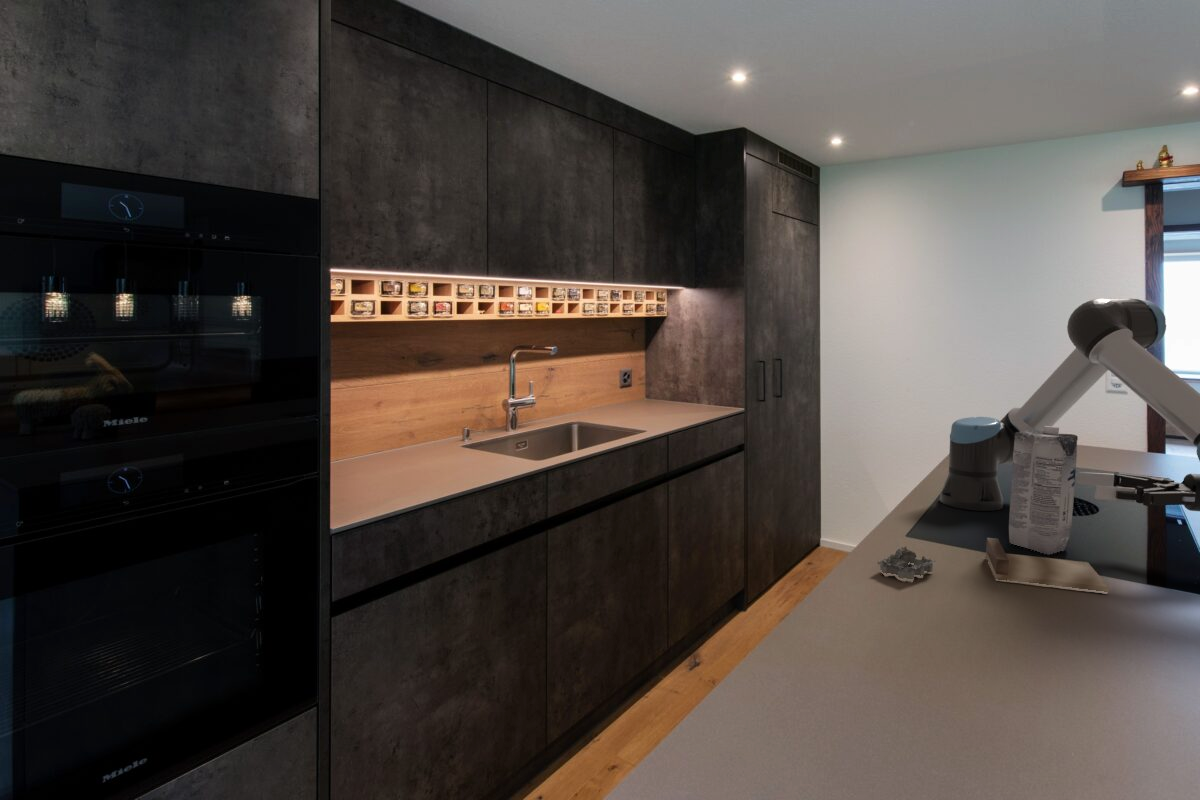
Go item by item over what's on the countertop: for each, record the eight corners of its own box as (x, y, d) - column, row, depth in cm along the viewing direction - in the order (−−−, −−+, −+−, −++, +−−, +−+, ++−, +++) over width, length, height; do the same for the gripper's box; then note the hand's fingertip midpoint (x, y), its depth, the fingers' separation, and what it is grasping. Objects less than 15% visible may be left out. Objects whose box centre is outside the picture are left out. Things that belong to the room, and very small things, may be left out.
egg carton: (905, 564, 143) (906, 545, 143) (939, 575, 137) (940, 555, 136) (872, 574, 137) (873, 554, 137) (907, 586, 131) (908, 565, 131)
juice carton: (1050, 558, 145) (1059, 432, 142) (1002, 544, 154) (1009, 425, 151) (1074, 551, 149) (1084, 428, 146) (1025, 538, 158) (1033, 422, 155)
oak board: (995, 581, 133) (996, 573, 132) (985, 558, 145) (986, 551, 145) (1107, 594, 126) (1108, 587, 126) (1087, 569, 139) (1087, 562, 138)
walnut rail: (996, 573, 132) (997, 558, 132) (986, 551, 145) (986, 537, 145) (1007, 575, 132) (1008, 560, 131) (996, 552, 144) (997, 538, 144)
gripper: (1239, 529, 128) (1102, 517, 136) (1184, 497, 151) (1070, 488, 159) (1243, 489, 127) (1105, 480, 135) (1187, 463, 150) (1072, 456, 158)
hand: (1086, 484), depth 147 cm, fingers open, 13 cm apart
